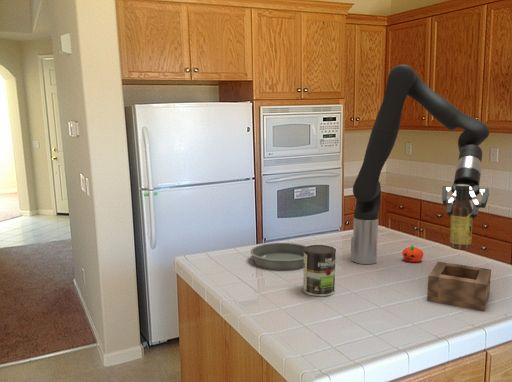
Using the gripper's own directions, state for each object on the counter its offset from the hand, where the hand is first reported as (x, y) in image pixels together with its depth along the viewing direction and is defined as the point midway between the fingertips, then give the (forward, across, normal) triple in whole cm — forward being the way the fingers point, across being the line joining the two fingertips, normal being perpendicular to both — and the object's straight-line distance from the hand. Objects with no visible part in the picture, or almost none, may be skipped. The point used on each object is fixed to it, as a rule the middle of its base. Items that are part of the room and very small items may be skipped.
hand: (461, 216), depth 145 cm
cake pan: (+15, -64, +21) cm, 69 cm away
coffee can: (+30, -40, +5) cm, 50 cm away
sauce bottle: (+7, 0, +8) cm, 11 cm away
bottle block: (+19, +1, +17) cm, 26 cm away
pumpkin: (-3, -20, +40) cm, 44 cm away
